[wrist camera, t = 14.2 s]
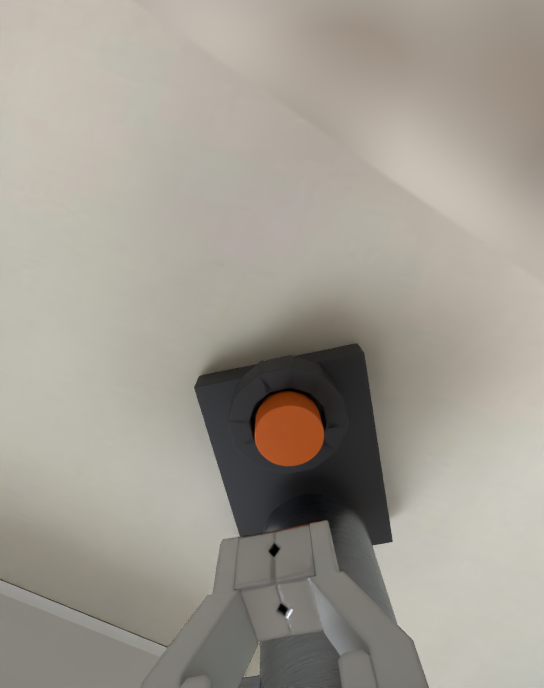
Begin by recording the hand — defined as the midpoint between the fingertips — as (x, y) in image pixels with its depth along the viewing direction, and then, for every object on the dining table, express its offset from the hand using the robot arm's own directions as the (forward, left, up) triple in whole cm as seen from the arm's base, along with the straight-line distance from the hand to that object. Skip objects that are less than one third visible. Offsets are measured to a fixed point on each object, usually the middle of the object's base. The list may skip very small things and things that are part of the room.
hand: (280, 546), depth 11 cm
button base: (+7, 0, -14) cm, 15 cm away
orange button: (+2, 0, -11) cm, 11 cm away
